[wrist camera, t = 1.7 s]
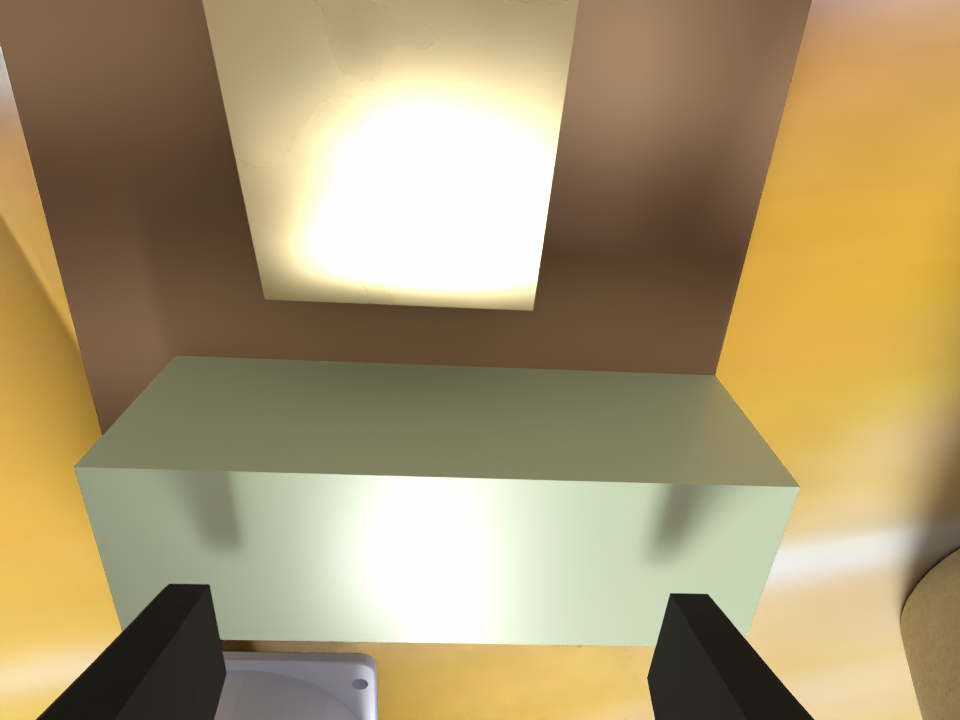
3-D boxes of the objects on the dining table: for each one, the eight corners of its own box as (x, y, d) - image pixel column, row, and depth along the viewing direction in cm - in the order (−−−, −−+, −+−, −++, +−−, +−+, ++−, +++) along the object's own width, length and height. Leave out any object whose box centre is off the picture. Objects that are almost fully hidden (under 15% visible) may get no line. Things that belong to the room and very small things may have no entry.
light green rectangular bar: (679, 512, 16) (742, 647, 12) (201, 500, 15) (124, 638, 12) (714, 375, 14) (800, 486, 11) (175, 355, 14) (73, 467, 10)
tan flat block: (529, 280, 13) (532, 310, 12) (277, 269, 12) (264, 299, 12) (578, -83, 9) (590, -71, 8) (207, -110, 8) (180, -101, 8)
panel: (625, 579, 20) (660, 696, 17) (189, 571, 20) (128, 691, 16) (876, -557, 10) (1131, -923, 6) (-70, -666, 9) (-438, -1155, 5)
